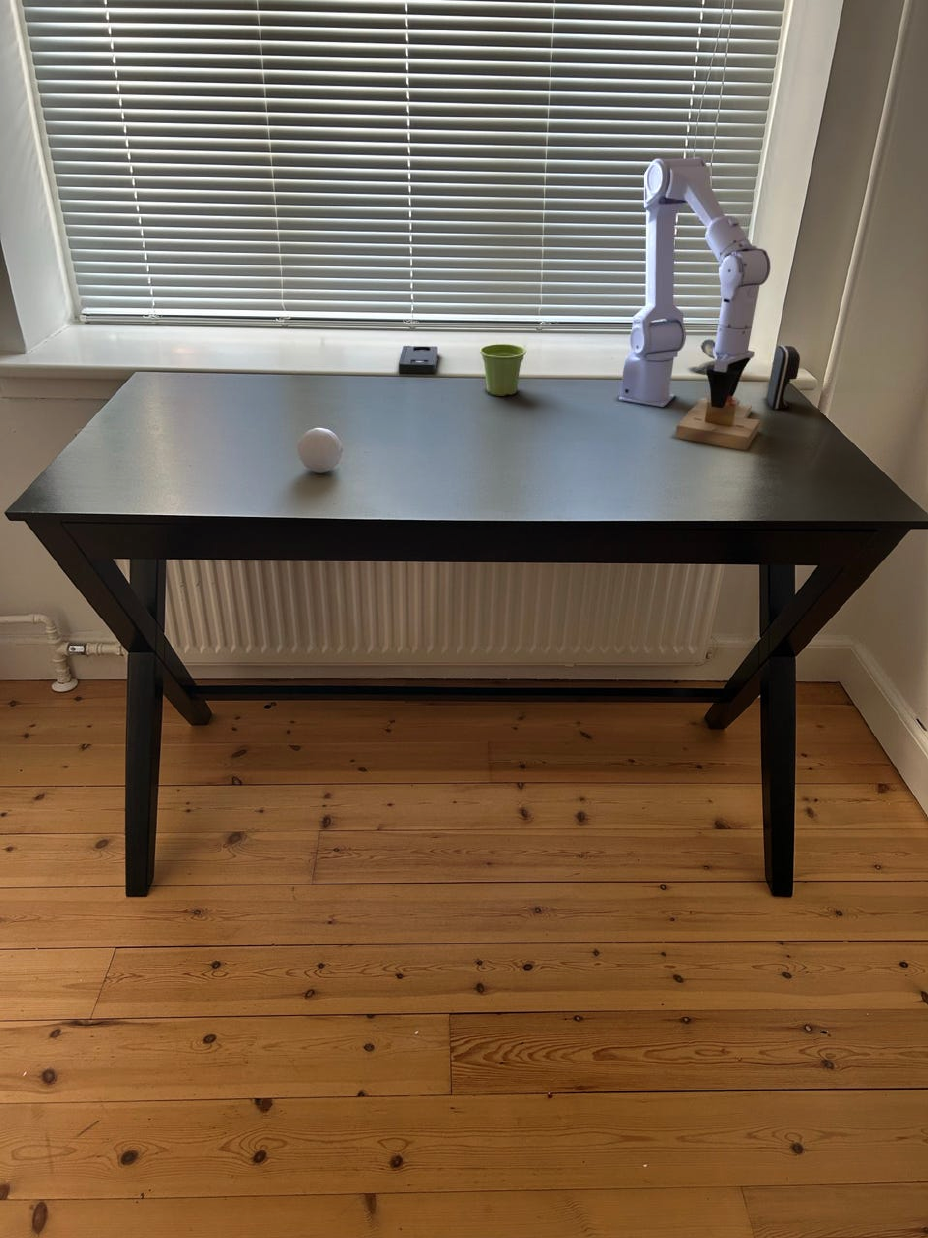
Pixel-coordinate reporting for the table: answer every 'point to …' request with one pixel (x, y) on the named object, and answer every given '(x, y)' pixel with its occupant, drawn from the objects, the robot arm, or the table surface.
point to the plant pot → (502, 367)
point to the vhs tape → (418, 359)
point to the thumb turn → (721, 414)
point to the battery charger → (782, 375)
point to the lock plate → (717, 430)
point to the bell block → (740, 410)
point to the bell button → (729, 399)
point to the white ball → (319, 450)
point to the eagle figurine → (707, 349)
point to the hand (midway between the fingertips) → (722, 400)
